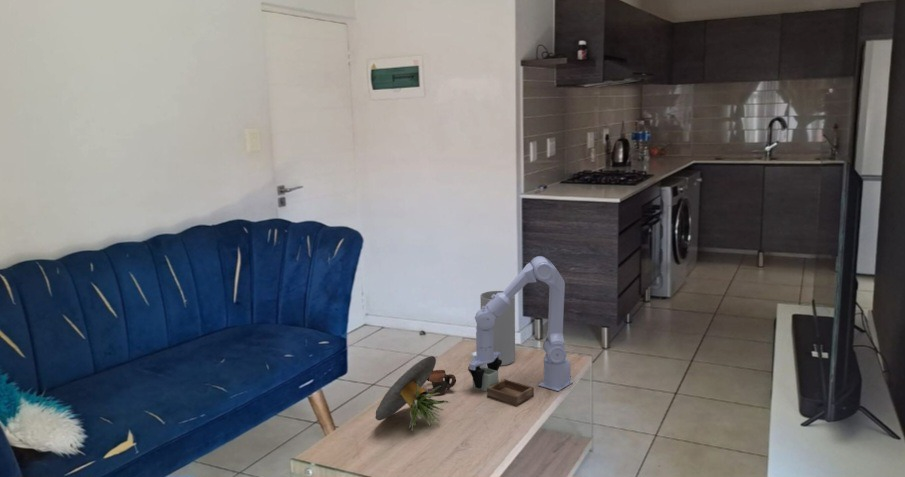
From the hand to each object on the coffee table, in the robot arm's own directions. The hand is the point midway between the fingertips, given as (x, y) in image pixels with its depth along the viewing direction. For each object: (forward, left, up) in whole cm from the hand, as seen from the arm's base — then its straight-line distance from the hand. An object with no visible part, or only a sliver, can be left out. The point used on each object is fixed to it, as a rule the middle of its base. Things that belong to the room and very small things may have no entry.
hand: (485, 383), depth 236 cm
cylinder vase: (-23, -12, -2) cm, 26 cm away
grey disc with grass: (+34, 0, -2) cm, 34 cm away
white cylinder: (-10, -10, -2) cm, 14 cm away
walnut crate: (+1, +11, -1) cm, 11 cm away
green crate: (0, 0, -1) cm, 1 cm away
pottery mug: (+11, -11, -2) cm, 16 cm away
